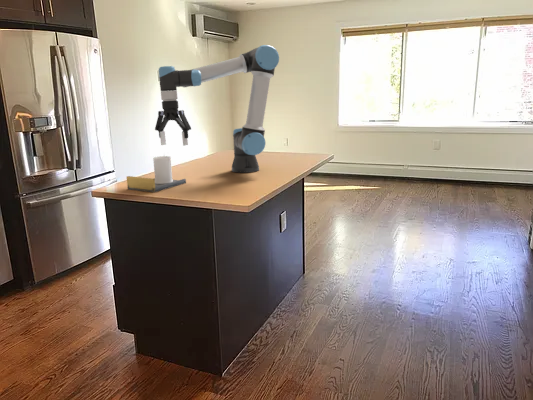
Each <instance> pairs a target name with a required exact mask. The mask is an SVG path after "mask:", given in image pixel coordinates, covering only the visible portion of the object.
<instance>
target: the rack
mask: <svg viewBox="0 0 533 400" xmlns="http://www.w3.org/2000/svg"><path fill="white" fill-rule="evenodd" d="M186 183H187V179H186V178H182V179H173V182H171V183H167V184H156V183H155V177H154V178H153V177H142V176H133V175H132V176H131V175H128V176H126V186H127V190H129V191H130V190H131V191H137V192H149V193H157V192H160V191H163V190H167V189H169V188H174V187H177V186H180V185H183V184H186Z"/></svg>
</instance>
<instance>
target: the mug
mask: <svg viewBox="0 0 533 400" xmlns="http://www.w3.org/2000/svg"><path fill="white" fill-rule="evenodd" d="M171 158H172V157H171V156H168V155H166V156H165V155H163V156H155V157H154V156H153V159H152V161H153V171H154V178H155V183H156V184H167V183H171V182H173V180H174V179H173V171H172V170H173V169H172V159H171Z"/></svg>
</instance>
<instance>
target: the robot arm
mask: <svg viewBox="0 0 533 400" xmlns="http://www.w3.org/2000/svg"><path fill="white" fill-rule="evenodd" d="M279 62H280V54H279V52H278V50H277V48H275V47H274V46H272V45H269V44H262V45H260V46H258V47H255V48H253V49H251V50H249V51H247V52H243V53H240V54H239V56H238V57H233V58H230V59H226V60H223V61H219V62H215V63H211V64H206V65H203V66H200V67H196V68H193V69H184V70H176V69H175V66H173V65H171V66H169V65H166V66H165V65H164V66H159V68H158V80H159V81H158V82H159V87H160V88H159V89H160V98H161V100H162V102H161V105H162V106H161V107H162V110H159V111H157V112H158V113H157V119H156V123H155V127H154V130H155V131H157V132H158V137H159V139H160V146H166V145H167V143H166V131H165V128H166V125H167V124H168V122H169V121H174V122H176V124H177V126H179V127H180V129H181V130H182V132H181V135H182V136H181V138H182V146H188V145H189V140H188V139H189V131H190V130H192V127H191V125H190V123H189V121H188V119H187V117H186V115H185V111H184V110H183V109H182V110H179V101H178V91H177V90H178V89H177V88H180V87H182V88H188V87H199V86H201V85H202V84H203V83H206V82H209V81H213V80H217V79H220V78H224V77H228V76H231V75H235V74H240V73H244V74H247V73H251V75H252V83H251V88H250V94H249V101H248V107H247V108H248V109H247V114H246V122H245V124H244V125H243V126H242V127H240V128H234V129H233V131H232V137H233V138H232V139H233V155H234V157H233V161H232V165H231V172H233V173H242V174H243V173H254V172H258V171H260V165H259V162H258V160H257V159H258V158H257V157H256V156H257V155H259V154H261V153H262V152H263V151H264V150H265V148H266V139H265V133H266V132H265V131H266V129H265V128H264V126H263V125H264V119H265V114H266V112H265V111H266V107H267V100H268V94H269V90H270V89H269V88H270V82H271V79H272V78H273V77H274V75H275V69H276V67H277V66H278V65H279Z"/></svg>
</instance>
